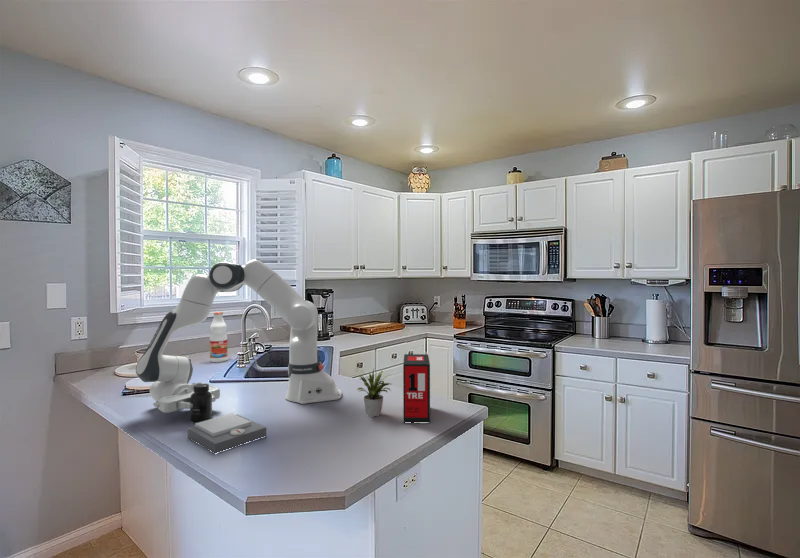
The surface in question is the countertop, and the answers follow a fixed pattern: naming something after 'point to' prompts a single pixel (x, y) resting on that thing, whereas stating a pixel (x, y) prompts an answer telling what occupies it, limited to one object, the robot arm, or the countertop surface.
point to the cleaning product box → (416, 388)
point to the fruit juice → (218, 339)
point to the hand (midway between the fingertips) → (202, 402)
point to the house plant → (373, 394)
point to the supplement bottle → (201, 403)
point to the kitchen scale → (225, 432)
